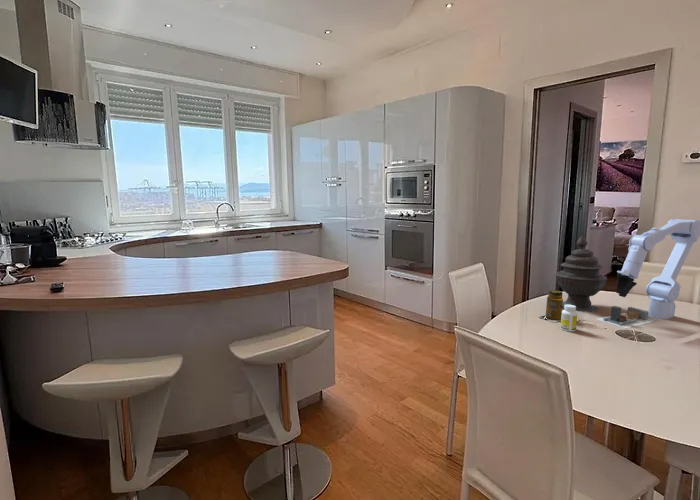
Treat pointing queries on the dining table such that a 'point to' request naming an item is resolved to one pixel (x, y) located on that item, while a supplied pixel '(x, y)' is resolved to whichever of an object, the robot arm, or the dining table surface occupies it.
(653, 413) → the dining table surface
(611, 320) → the carriage
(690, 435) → the dining table surface
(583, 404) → the dining table surface
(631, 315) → the nut
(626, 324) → the board
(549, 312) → the condiment
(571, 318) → the supplement bottle
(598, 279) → the decorative urn
